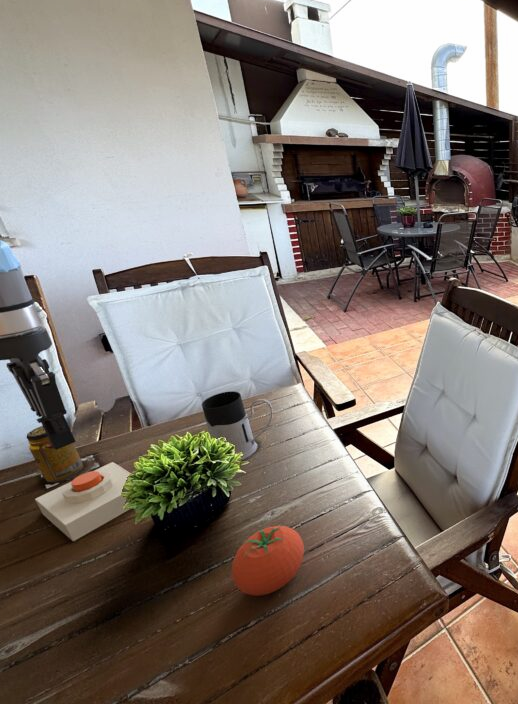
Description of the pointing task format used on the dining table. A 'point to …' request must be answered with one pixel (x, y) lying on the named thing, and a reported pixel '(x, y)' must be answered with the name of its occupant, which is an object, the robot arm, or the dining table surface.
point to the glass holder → (231, 421)
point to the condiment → (55, 458)
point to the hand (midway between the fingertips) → (64, 444)
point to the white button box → (86, 503)
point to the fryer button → (86, 481)
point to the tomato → (267, 560)
